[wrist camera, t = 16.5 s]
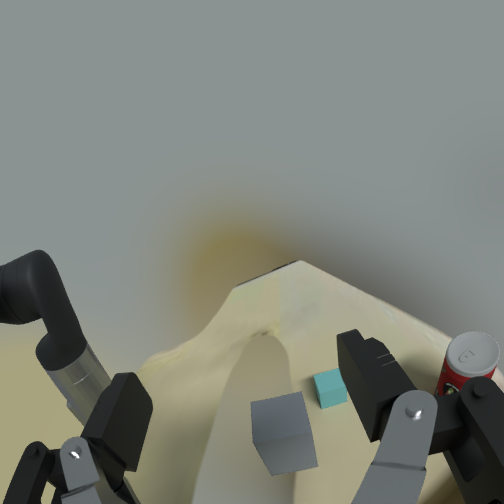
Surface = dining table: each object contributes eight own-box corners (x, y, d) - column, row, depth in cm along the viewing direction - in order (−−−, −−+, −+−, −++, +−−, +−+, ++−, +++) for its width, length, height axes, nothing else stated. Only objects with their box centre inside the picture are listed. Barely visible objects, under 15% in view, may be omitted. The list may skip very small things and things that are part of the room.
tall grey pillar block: (318, 466, 25) (311, 431, 22) (271, 475, 26) (252, 442, 22) (310, 432, 31) (301, 391, 28) (267, 441, 31) (250, 402, 28)
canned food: (420, 408, 28) (435, 355, 24) (452, 377, 30) (467, 322, 26) (455, 435, 21) (481, 384, 17) (485, 399, 23) (509, 343, 19)
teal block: (347, 401, 35) (346, 385, 33) (321, 409, 35) (319, 393, 33) (339, 384, 38) (338, 367, 37) (316, 391, 38) (313, 375, 37)
